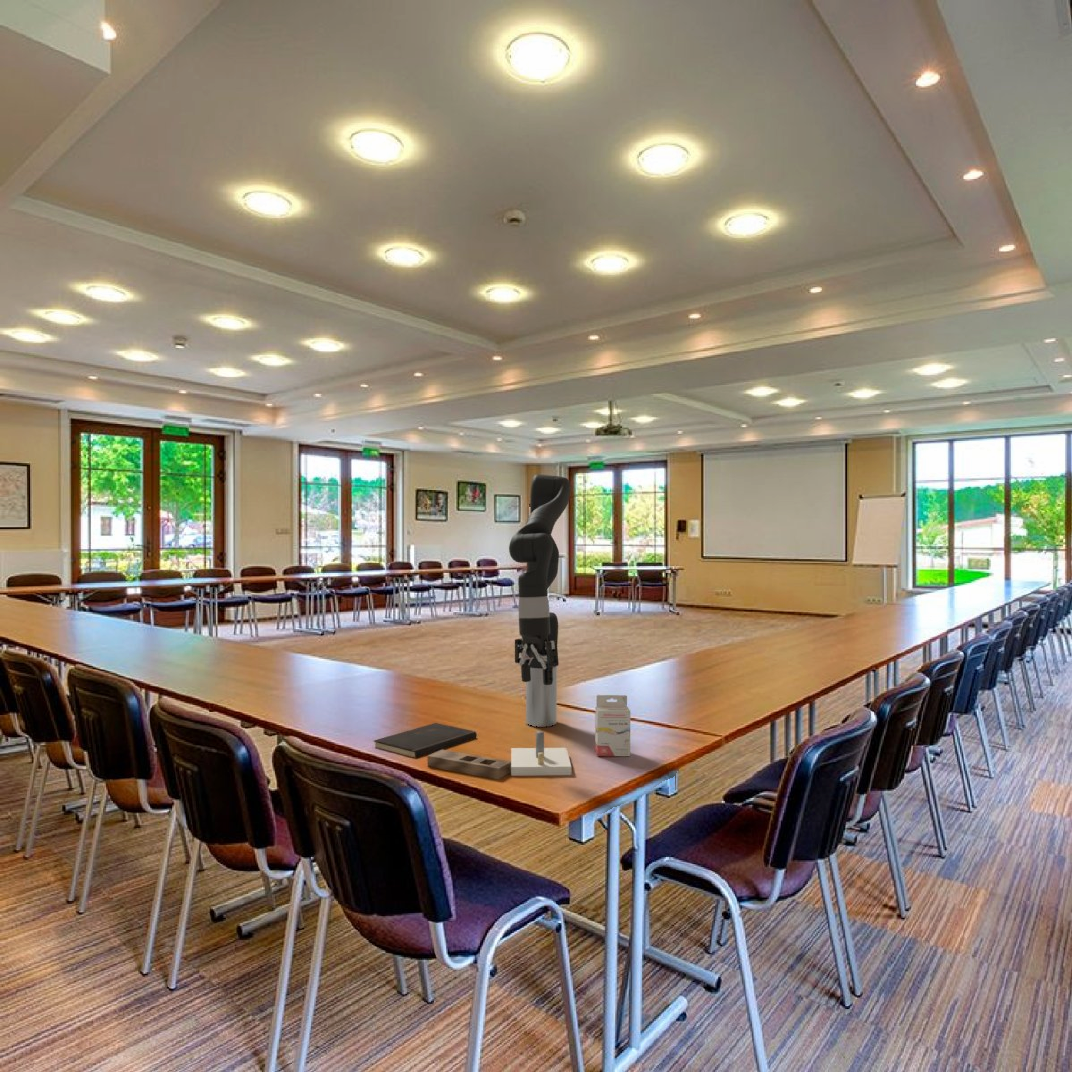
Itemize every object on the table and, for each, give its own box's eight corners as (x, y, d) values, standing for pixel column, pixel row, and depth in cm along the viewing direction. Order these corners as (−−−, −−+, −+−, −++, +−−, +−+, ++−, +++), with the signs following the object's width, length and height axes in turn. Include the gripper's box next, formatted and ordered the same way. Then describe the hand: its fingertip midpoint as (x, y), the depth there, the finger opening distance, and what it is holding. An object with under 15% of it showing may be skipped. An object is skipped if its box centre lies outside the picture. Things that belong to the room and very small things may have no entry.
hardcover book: (373, 749, 184) (373, 740, 184) (435, 730, 202) (435, 722, 202) (415, 760, 174) (415, 751, 174) (476, 739, 193) (476, 731, 193)
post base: (511, 756, 176) (511, 724, 176) (566, 755, 177) (566, 724, 177) (511, 775, 161) (511, 741, 161) (571, 775, 162) (571, 740, 162)
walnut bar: (427, 766, 168) (427, 755, 168) (441, 759, 173) (441, 749, 173) (498, 779, 158) (498, 768, 158) (511, 772, 164) (511, 761, 164)
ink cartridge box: (597, 757, 175) (597, 698, 176) (594, 751, 180) (594, 694, 180) (630, 757, 176) (630, 698, 176) (627, 751, 181) (627, 694, 181)
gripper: (564, 615, 165) (567, 684, 164) (528, 614, 176) (531, 678, 175) (539, 617, 160) (542, 688, 159) (504, 616, 172) (507, 682, 171)
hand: (537, 683), depth 167 cm, fingers open, 8 cm apart
